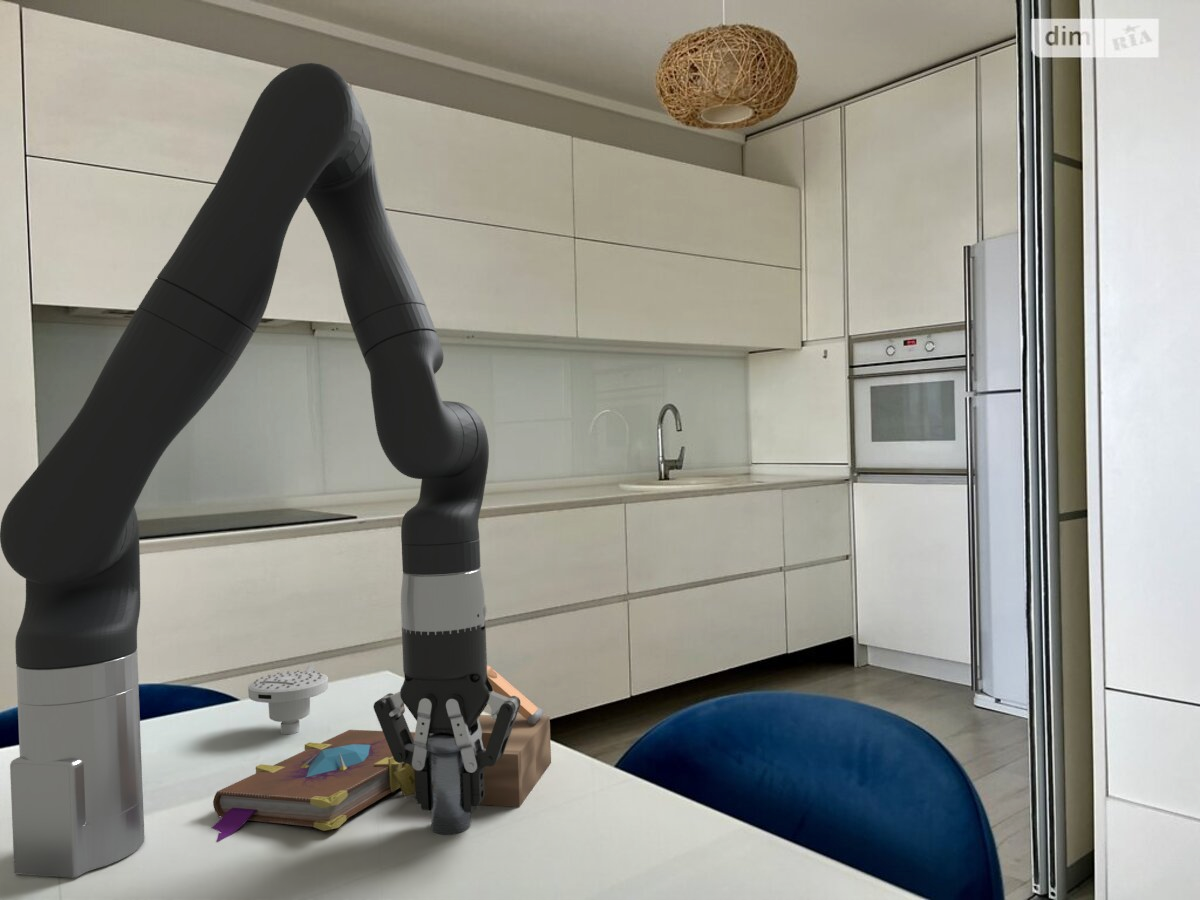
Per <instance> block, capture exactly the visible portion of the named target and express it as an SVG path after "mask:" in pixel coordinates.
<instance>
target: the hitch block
mask: <svg viewBox="0 0 1200 900" xmlns="http://www.w3.org/2000/svg"><path fill="white" fill-rule="evenodd" d="M478 718H479V722H480V726H481V730H482V736H481V738H482V743H483V747H484V749H486V748H487V745H488V742H489V739H490V736H491V733H492V730H493V727H494V724H495V720H494V719H493V718H492V717H491V714H480V716H479V717H478ZM550 718H551V717H550V716H548V715H547V716H546V715H545V716H543V715H542V717H541V718H540V719H539V720H538V721H537V722H536V724H534V725H530V724H529V723H528V721H527V719H525V718H524V717H523V716H522V715H517V716H516V719H515V722H514V725H513V728H512V730H511V733H510V736H509V739H508V742H507V745H506V748H505V751H504V754H503V755H502V756H501V757H500V758H499V759H498V760H497V762H496V763H495V764H494V765H493V766H485V767H484V786H485V788H484V789H485V796H484V799H483V801H482V802H481V803H480V805H479V806H496V807H497V806H498V807H500V806H501V807H521V805H522V804H523V803H524V801H525V800H526V799H527V797H528V796H529V794H530V793H531V792H532V790H533V789H534V788H535V786H536V785H537V784H538V782H539V780H541V778H542V777H543V775H544V774H545V772H546V771H547V769H548V767H549V766H550V765H551V764H552V749H551V722H550Z"/></svg>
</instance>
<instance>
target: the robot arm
mask: <svg viewBox="0 0 1200 900" xmlns="http://www.w3.org/2000/svg"><path fill="white" fill-rule="evenodd" d="M359 103H360V102H359V101H358V99H357V96H356V95H355V93H354V91H353V90H352V88H351V86H350V85H349V83H348V82H347V80H346V79H345V78H344V77H343V76H342V75H341V74H340V73H339V72H338V71H336V70H334V68H331V67H329V66H328V65H324V64H322V63H316V62H315V63H314V62H307V63H300V64H297V65H294V66H291V67H289V68H286V69H285V70H283V71H281V72H280V73H279V74H278V75H276V76H275V77H274V78H273V79H272V80H271V81H270V82H269V83H268V84H267V85H266V87H265V88H264V89H263V91H262V92H261V93H260V95H259V97H258V99H257V101H256V102H255V104H254V106H253V108H252V110H251V113H250V114H249V117H247V118H248V119H247V120H246V122H245V125H244V127H243V129H242V131H241V133H240V135H239V138H238V139H237V142H236V144H235V146H234V148H233V150H232V152H231V155H230V156H229V159H228V161H227V162H226V164H225V167H224V168H223V171H222V173H221V175H220V176H219V178H218V181H217V182H216V183H215V186H214V187H213V188H212V190H211V192H210V194H209V195H208V197H207V198H206V200H205V201H204V203H203V204H202V206H201V207H200V208H199V211H198V212H197V214H196V215H195V217H194V219H193V221H192V222H191V224H190V225H189V227H188V228H187V230H186V232H185V234H183V237H182V238H181V241H180V242H179V243H178V245H177V246H176V249H175V250H174V252H173V253H172V255H171V256H170V258H169V259H168V260H167V262H166V263H165V264H164V266H163V268H162V269H161V270H160V272H159V274H157V277H156V278H155V280H154V281H153V283H152V284H151V286H150V288H149V289H148V290H147V292H146V294H145V295H144V297H143V299H142V300H141V302H140V303H139V305H138V307H137V308H136V310H135V312H134V313H133V316H131V318H130V320H129V322H128V324H127V326H126V328H125V330H124V331H123V333H122V335H121V336H120V338H119V339H118V342H117V343H116V345H115V346H114V348H113V350H112V352H111V353H110V355H109V357H108V359H107V360H106V362H105V364H104V366H103V367H102V370H101V372H100V373H99V376H98V377H97V379H96V381H95V383H94V385H93V387H92V389H91V391H90V392H89V394H88V397H87V398H86V400H85V402H84V404H83V406H82V407H81V409H80V410H79V412H78V413H77V415H76V416H75V418H74V419H73V421H72V422H71V423H70V425H69V426H68V427H67V429H66V430H65V432H64V433H63V434H62V435H61V437H60V438H59V439H58V441H57V442H56V443H55V445H54V446H53V447H52V449H50V451H49V452H48V454H47V455H46V456H45V457H44V459H42V462H41V463H40V464H39V465H38V466H37V467H36V469H35V470H34V471H33V472H32V473H31V475H30V476H29V478H27V480H26V481H25V482H24V483H23V484H22V486H21V487H20V488H19V489H18V491H16V493H15V494H14V495H13V497H12V499H11V500H10V501H9V503H8V504H7V506H6V508H5V510H4V513H3V516H2V519H1V520H0V521H1V523H0V548H1V551H2V554H3V556H4V558H5V560H6V563H8V565H9V566H10V568H12V570H13V571H14V572H15V573H17V575H19V577H20V576H21V577H22V578H24V579H25V602H24V603H25V604H24V608H23V609H24V610H23V613H22V619H21V622H20V625H19V628H18V630H17V632H16V636H15V641H14V642H15V643H14V644H15V645H14V646H15V664H16V667H15V668H16V686H17V687H16V688H17V690H16V691H17V693H16V694H17V716H18V717H17V719H18V743H19V744H18V745H19V746H18V747H19V748H18V749H19V756H18V757H16V758H14V759H12V760H11V762H10V763H9V769H10V773H9V775H10V776H9V777H10V799H11V821H12V822H11V823H12V844H13V845H12V848H13V849H12V850H13V872H14V874H19V875H32V876H45V877H47V876H49V877H62V878H78V877H79V876H82V875H83V874H85V873H87V872H89V871H92V870H95V869H99V868H102V867H106V866H108V865H111V864H113V863H115V862H118V861H120V860H122V859H125V858H126V857H128V856H130V855H131V854H133V853H134V852H136V851H138V850H139V849H140V848H141V847H142V845H143V843H144V842H145V837H146V835H145V817H144V814H145V811H144V794H143V793H144V792H143V771H142V770H143V767H142V766H143V765H142V763H143V762H142V744H141V743H142V742H141V741H142V740H141V738H142V737H141V717H140V696H139V695H140V693H139V691H140V688H139V660H138V624H139V619H140V613H141V568H140V567H141V564H140V563H141V561H140V559H141V558H140V555H141V554H140V530H139V528H140V527H139V519H138V515H137V514H138V513H137V511H136V508H135V507H136V504H137V502H138V499H139V498H140V495H141V494H142V492H143V490H144V487H145V486H146V484H147V482H148V480H149V479H150V476H151V474H152V472H153V470H154V469H155V467H156V466H157V464H158V462H159V460H160V458H161V457H162V456H163V454H164V453H165V451H166V450H167V448H168V447H169V446H170V445H171V443H172V442H173V441H174V440H175V438H176V437H178V435H179V434H180V433H181V431H183V430H184V429H185V427H186V426H187V425H188V424H189V423H190V422H191V421H192V419H193V418H194V417H195V416H196V415H197V414H198V413H199V411H201V409H202V408H203V407H204V406H205V405H206V403H208V401H209V400H210V399H211V398H212V396H213V395H214V394H215V393H216V391H217V390H218V389H219V387H220V386H221V385H222V383H224V381H225V380H226V378H227V377H228V376H229V374H230V372H231V371H232V370H233V368H234V367H235V365H236V364H237V362H238V361H239V360H240V357H241V356H242V354H243V352H244V350H245V349H246V348H247V345H248V344H249V342H250V340H251V339H252V337H253V335H254V333H255V332H256V330H257V329H258V328H259V326H260V323H261V321H262V319H263V317H264V314H265V312H266V309H267V306H268V304H269V301H270V298H271V295H272V294H271V293H272V289H273V286H274V282H275V278H276V274H277V269H278V267H279V266H278V265H279V262H280V257H281V254H282V249H283V246H284V241H285V239H286V235H287V233H288V229H289V227H290V224H291V223H292V221H293V220H292V219H293V217H294V216H295V214H296V212H297V210H298V209H299V207H300V204H301V203H302V202H303V201H304V199H305V200H306V202H307V203H308V205H309V206H310V208H311V209H312V213H314V215H315V217H316V218H317V220H318V222H319V224H320V227H321V229H322V231H323V234H324V236H325V238H326V241H327V244H328V246H329V249H330V252H331V256H332V258H333V259H332V260H333V261H334V265H335V270H336V274H337V279H338V283H339V288H340V292H341V296H342V300H343V303H344V307H345V310H346V314H347V317H348V319H349V322H350V325H351V328H352V332H353V333H354V336H355V339H356V342H357V344H358V348H359V349H360V351H361V355H362V358H363V359H364V361H365V364H366V367H367V369H368V371H369V376H370V377H369V378H370V389H371V400H372V407H373V414H374V421H375V428H376V434H377V437H378V440H379V444H380V447H381V449H382V450H383V453H384V454H385V456H386V458H387V459H388V462H390V464H391V465H392V467H394V468H395V469H396V470H397V471H398V472H400V474H402V475H404V476H406V477H408V478H411V479H416V480H421V483H420V491H419V497H418V498H419V499H418V501H417V503H416V504H415V505H414V506H413V507H411V508H410V509H409V510H407V511H406V513H405V514H404V515H403V516H402V519H401V526H400V540H401V541H400V542H401V562H402V563H401V565H402V580H401V582H402V583H401V589H400V590H401V591H400V615H401V617H400V618H401V643H402V644H401V645H402V667H403V669H402V670H403V675H404V679H403V683H402V685H401V688H400V691H398V692H396V693H392V692H391V693H387V694H386V695H384V696H382V697H380V698H379V699H378V700H376V701H374V703H373V710H374V712H375V716H376V718H377V721H378V723H379V726H380V728H381V731H383V733H384V736H385V738H386V741H387V743H388V746H389V748H390V751H391V753H392V756H393V758H394V760H395V761H396V762H398V763H402V762H405V763H407V764H409V765H411V766H412V767H413V769H414V773H415V794H414V795H415V800H416V803H417V804H418V805H420V807H421V810H422V811H423V812H424V811H427V812H429V811H430V812H431V796H430V770H429V751H427V750H426V749H425V747H426V746H427V737H429V736H430V734H437V733H440V732H447V733H450V734H454V736H455V740H456V744H457V747H458V748H460V749H461V755H462V759H463V763H464V767H465V769H466V770H465V771H464V772H463V798H464V812H465V813H470V814H473V813H475V811H476V810H477V808H479V806H481V805H480V803H481V802H482V801H483V799H484V796H485V789H484V788H485V786H484V767H485V766H493V765H494V764H495V763H496V762H497V760H498V759H499V758H500V757H501V756H502V755H503V754H504V751H505V748H506V745H507V742H508V739H509V736H510V733H511V730H512V728H513V725H514V722H515V719H516V716H518V714H519V712H518V710H519V707H520V703H521V702H520V699H519V698H518V697H516V696H511V697H510V698H508V697H505V696H503V695H501V694H498V693H496V692H494V691H493V688H492V685H491V683H490V682H489V680H488V677H487V665H488V661H487V660H488V657H487V655H488V654H487V630H486V629H487V627H486V617H487V606H486V603H485V602H486V601H485V590H484V584H483V578H482V571H481V570H482V569H481V548H480V547H481V546H480V545H481V544H480V543H481V541H480V531H479V530H480V528H479V518H480V513H481V509H482V505H483V501H484V500H483V499H484V496H485V495H484V494H485V487H486V481H487V474H488V469H489V468H488V467H489V459H490V457H489V456H490V455H489V454H490V450H489V437H488V433H487V430H486V426H485V424H484V422H483V419H482V418H481V416H480V415H479V413H478V412H477V411H475V409H473V408H472V407H471V406H469V405H467V404H465V403H462V402H459V401H448V400H447V401H446V400H442V398H441V396H440V393H439V389H438V386H437V381H436V377H435V374H437V372H439V370H440V369H441V367H442V366H443V363H444V352H443V348H442V343H441V341H440V338H439V336H438V333H437V330H436V327H435V326H434V322H433V321H432V318H431V316H430V312H429V309H428V308H427V304H426V302H425V299H424V298H423V297H424V296H423V295H422V292H421V290H420V288H419V286H418V283H417V281H416V279H415V277H414V274H413V273H412V270H411V267H410V266H409V264H408V262H407V260H406V258H405V255H404V254H403V252H402V250H401V247H400V246H399V243H398V241H397V239H396V236H395V234H394V233H395V232H394V231H393V228H392V225H391V222H390V220H389V217H388V213H387V211H386V207H385V203H384V200H383V195H382V191H381V186H380V183H379V176H378V172H377V167H376V161H375V156H374V155H375V154H374V151H373V150H374V149H373V144H372V143H373V142H372V141H373V140H372V134H371V130H370V127H369V123H368V122H367V119H366V118H365V115H364V112H363V110H362V108H361V106H360V104H359ZM487 705H488V706H489V707H490V715H491V717H492V718H493V719H494V720H495V724H494V727H493V730H492V733H491V736H490V739H489V742H488V745H487V748H486V749H484V747H483V743H482V738H481V736H482V730H481V726H480V722H479V718H478V717H479V716H480V715H482V713H483V711H484V710H485V709H486V707H487ZM406 708H407V710H408V711H409V712H410V713H411V715H412V717H413V718H414V720H415V721H416V725H415V731H414V732H415V736H414V740H413V738H412V735H411V733H410V732H411V731H410V728H409V726H408V723H407V720H406V718H405V716H404V714H405V711H406ZM468 729H471V733H470V734H469V730H468Z"/></svg>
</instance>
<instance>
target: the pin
mask: <svg viewBox="0 0 1200 900" xmlns="http://www.w3.org/2000/svg"><path fill="white" fill-rule="evenodd" d="M468 730H469V734H470V733H471V729H468ZM425 749H426V750H427V751H429V770H430V796H431V810H430V813H431V814H430V819H431V831H432V832H433V833H435V834H439V835H444V836H445V835H446V836H447V835H456V834H461V833H464V832H465V831H466V830H468V829H470V827H471V822H472V821H471V813H465V812H464V798H463V772H464V771H465V770H466V769H465V767H464V763H463V759H462V755H461V749H460V748H458V747H457V744H456V740H455V736H454V734H450V733H447V732H440V733H437V734H430V736H429V737H427V746H426V747H425Z"/></svg>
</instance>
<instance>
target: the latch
mask: <svg viewBox="0 0 1200 900" xmlns="http://www.w3.org/2000/svg"><path fill="white" fill-rule="evenodd" d="M487 677H488V680H489V682H490V683H491V685H492V688H493V692H496V693H498V694H501V695H503V696H505V697H508V698H510V697H511V696H516V697H518V698H519V699H520V702H521V703H520V707H519V710H518V714H520V716H523V717H524V718H525V719H527V721H528V723H529V724H530V725H534V724H536V722H537V721H538V720H539V719H540V718H541V717H542V716H543V715H544V710H543V709H542V708H540V707H538V706H537V705H535V704H534V703H533V702H531V700H529V699H528V698H527V697H526V696H525V695H524V694H523V693H522V692H521V691H519V690H518V689H517V688H516V687H515V686H513V685H512V684H511V683H510V682H508V680H506V678H504V677H503V676H502V675H501V674H499V673H498V672H497V671H496V670H494V668H493V667H492V666H490V665H488V664H487Z"/></svg>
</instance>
